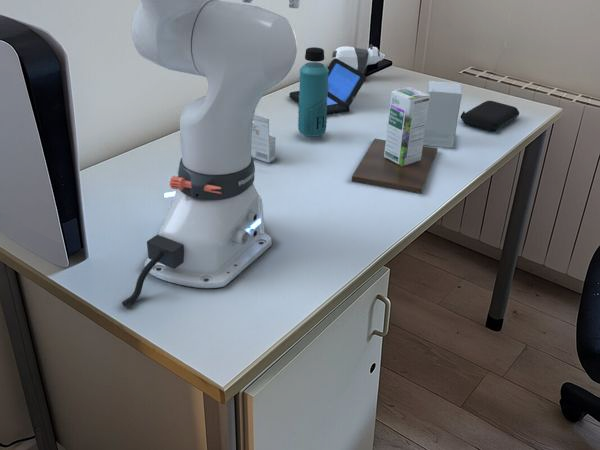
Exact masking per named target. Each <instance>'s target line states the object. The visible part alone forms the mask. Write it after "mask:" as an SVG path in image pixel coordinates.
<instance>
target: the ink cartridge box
mask: <svg viewBox="0 0 600 450" xmlns="http://www.w3.org/2000/svg"><path fill="white" fill-rule="evenodd" d="M251 156H252V157H253V159H256V160H259V161H262V162H265V163H269V164H270V163H271V162H274V161H275V160H276V137H275V136H273V135H270V119H269V118H265V117H262V116H259V115H255V114H254V117H253V125H252V145H251Z"/></svg>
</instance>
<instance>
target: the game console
mask: <svg viewBox="0 0 600 450" xmlns="http://www.w3.org/2000/svg"><path fill="white" fill-rule="evenodd" d="M327 68H328V70H329V73H328V85H329V86H328V88H329V89H328V95H327V96H328V97H327V116H332V115H338V114H345V113H349V112H350V106H351V105H352V103H353V101H354V100H355V98H356V96H357V95H358V93H359V91H360V90H361V88H362V87H363V85H364V83H365V82H366V81H365V80H367V79H366V78H367V76H366V74H365V73H364V74H363V73H361V72H360V71H358V70H356V69H354V68H353V67H351V66H349V65H347V64H345V63H344V62H342V61H340V60H338V59H336V58H335V59H334V58H333V59H332V60H331V61H330V63H329V65H328V66H327ZM299 91H300V90H296V91H291V92H289V93H288V95H289V96H288V97H289V98H290V99H291V100H292V101H294V102H295V103H297V105H299V103H298V99H299Z"/></svg>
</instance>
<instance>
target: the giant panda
mask: <svg viewBox="0 0 600 450" xmlns="http://www.w3.org/2000/svg"><path fill="white" fill-rule="evenodd" d="M331 58H333V59H335V58H336V59H338V60H340V61H342V62H344V63H345V64H347V65H349V66H351V67H353V68H354V69H356V70H358V71H360V72H361V73H363V74H365V70H366V69H367V66H369V65H370V66H371V65H376V64H377V63H378V62H381V61H383V60H384V59H385V58H386V54H384V53H383V52H380V50H379V49H378V47H376V46H374V45H373V43H371V44H369V48H368V49H366V48H360V47H354V46H347V45H346V46H340V47H337V48H336V49H335V50H334V51H332V55H331ZM366 80H367V79H365V82H366Z"/></svg>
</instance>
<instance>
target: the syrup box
mask: <svg viewBox="0 0 600 450" xmlns="http://www.w3.org/2000/svg"><path fill="white" fill-rule="evenodd" d="M429 100H430V95H429V94H427V93H425V92H422V91H420V90H418V89H415V88H414V87H410V86H409V87H402V88H398V89H395V90H392V91H391V92H390V101H389V109H388V110H389V111H388V120H387V128H386V137H385V140H386V144H385V152H384V157H385V158H388V159H390V160H391V161H393V162H395V163H397V164H399V165H400V166H405V165H408V164H411V163H414V162H417V161H420V160H421V155H422V148H423V146H424V145H423V141H424V134H425V128H426V121H427V114H428V107H429Z"/></svg>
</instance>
